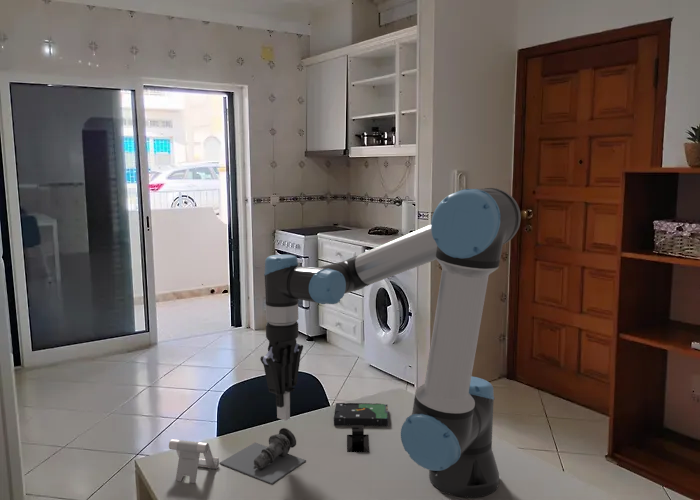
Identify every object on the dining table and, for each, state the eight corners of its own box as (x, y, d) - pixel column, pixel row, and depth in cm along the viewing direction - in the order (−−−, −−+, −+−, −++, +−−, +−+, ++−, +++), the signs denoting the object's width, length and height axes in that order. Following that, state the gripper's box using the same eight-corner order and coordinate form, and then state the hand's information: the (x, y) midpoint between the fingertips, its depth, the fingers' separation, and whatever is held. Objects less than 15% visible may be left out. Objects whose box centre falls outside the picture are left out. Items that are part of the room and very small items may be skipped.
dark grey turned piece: (287, 424, 136) (252, 454, 127) (301, 444, 135) (267, 476, 126) (274, 430, 140) (240, 460, 130) (288, 451, 139) (254, 482, 130)
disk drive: (333, 428, 153) (389, 427, 153) (333, 418, 153) (389, 418, 152) (335, 411, 163) (387, 411, 163) (335, 402, 163) (387, 402, 163)
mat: (305, 461, 134) (305, 460, 134) (271, 484, 124) (271, 483, 124) (255, 443, 143) (255, 442, 143) (219, 463, 133) (219, 462, 133)
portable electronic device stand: (219, 466, 132) (218, 432, 131) (203, 484, 125) (201, 448, 123) (185, 462, 134) (183, 428, 133) (167, 479, 126) (165, 444, 125)
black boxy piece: (344, 434, 149) (344, 417, 149) (371, 434, 149) (372, 417, 149) (343, 457, 137) (343, 439, 137) (373, 457, 137) (373, 439, 137)
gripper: (287, 313, 140) (288, 405, 143) (250, 325, 129) (252, 424, 132) (312, 317, 136) (312, 412, 139) (275, 330, 125) (277, 432, 128)
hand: (283, 417), depth 136 cm, fingers closed
